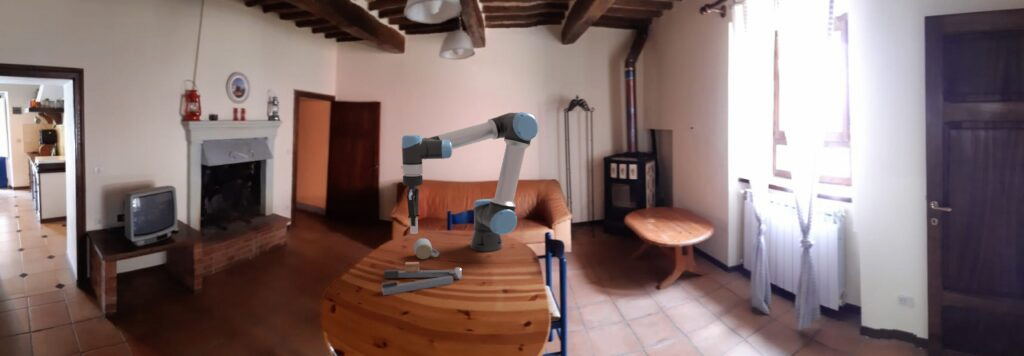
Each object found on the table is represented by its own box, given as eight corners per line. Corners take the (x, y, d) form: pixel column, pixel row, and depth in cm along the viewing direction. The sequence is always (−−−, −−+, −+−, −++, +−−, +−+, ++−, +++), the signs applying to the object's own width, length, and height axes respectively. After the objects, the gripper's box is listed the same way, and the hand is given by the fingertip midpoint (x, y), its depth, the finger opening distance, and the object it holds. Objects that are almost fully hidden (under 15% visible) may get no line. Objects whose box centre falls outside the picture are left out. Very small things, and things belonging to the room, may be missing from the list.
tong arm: (462, 273, 159) (462, 261, 158) (461, 279, 153) (461, 266, 152) (387, 274, 157) (386, 262, 157) (383, 280, 152) (382, 267, 151)
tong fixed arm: (450, 280, 153) (450, 272, 153) (453, 283, 150) (453, 275, 150) (382, 291, 143) (381, 283, 143) (383, 295, 140) (383, 286, 139)
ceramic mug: (415, 261, 173) (415, 243, 172) (413, 255, 181) (413, 238, 180) (440, 259, 177) (440, 242, 176) (437, 253, 184) (437, 236, 183)
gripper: (406, 172, 164) (407, 228, 168) (399, 177, 151) (400, 237, 155) (425, 172, 165) (426, 228, 168) (419, 177, 152) (420, 237, 155)
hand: (414, 233), depth 161 cm, fingers closed
